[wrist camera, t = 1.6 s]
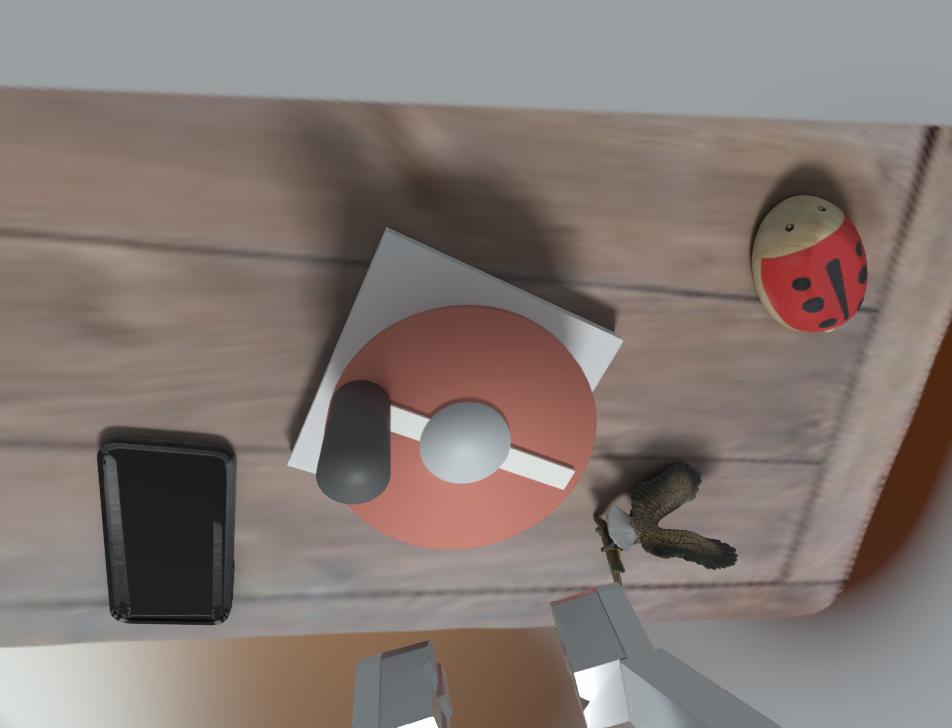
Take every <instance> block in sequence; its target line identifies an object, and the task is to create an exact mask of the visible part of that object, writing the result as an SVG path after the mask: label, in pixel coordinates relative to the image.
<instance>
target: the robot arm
mask: <svg viewBox="0 0 952 728" xmlns="http://www.w3.org/2000/svg"><path fill="white" fill-rule="evenodd" d="M550 607H551V611H552V615H553V618H554V621H555V624H556V627H557V628H556V630H557V635H558V638H559V642H560V645H561V649H562V652H563V656H564V659H565V662H566V665H567V668H568V671H569V674H570V677H571V678H572V679H573V683H574V687H575V691H576V695H577V698H578V701H579V704H580V707H581V710H582V713H583V716H584V718H585V722H586V725H587V728H606V727H609V726H613V725H616V724H620V723H624V722H627V721H631V723H632V724H633V725H634V726H635V727H636V728H781V727H780V726H779V725H778V724H776V723H775V722H773V721H772V720H770V719H769V718H767V717H766V716H764V715H763V714H761V713H760V712H758V711H757V710H755V709H753V708H752V707H750V706H749V705H747V704H746V703H744V702H743V701H741V700H740V699H738V698H737V697H735V696H734V695H732V694H731V693H729V692H728V691H726V690H725V689H723V688H722V687H720V686H719V685H717V684H716V683H714V682H712V681H711V680H710V679H708V678H706V677H705V676H703V675H702V674H700V673H699V672H697V671H696V670H694V669H693V668H691V667H690V666H688V665H687V664H685V663H684V662H682V661H680V660H679V659H678V658H676V657H675V656H673V655H671V654H670V653H668V652H667V651H665V650H664V649H662V648H659V649H656V650H654V648H653V646H652V644H651V642H650V640H649V638H648V637H647V634H646V633H645V631H644V629H643V627H642V625H641V623H640V621H639V619H638V617H637V615H636V613H635V611H634V609H633V607H632V605H631V604H630V602H629V600H628V598H627V596H626V594H625V592H624V590H623V588H622V586H621V585H620V584H619V583H618V582H614V583H611V584H608V585H605V586H601V587H598V588H595V590H594V589H590V590H587V591H584V592H580V593H577V594H574V595H571V596H568V597H565V598H562V599H559V600H556V601H552V602H550ZM451 715H452V708H451V700H450V695H449V689H448V684H447V680H446V677H445V674H444V671H443V668H442V666H441V664H439V663H437V662H436V653H435V649H434V646H433V644H432V642H431V640H428V641H425V642H421V643H417V644H414V645H410V646H406V647H403V648H399V649H396V650H392V651H388V652H384V653H381V654H378V655H374V656H371V657H367V658H364V659H360V660H359V661H358V664H357V667H356V673H355V689H354V705H353V718H352V728H451V727H450V725H449V719H450V717H451Z"/></svg>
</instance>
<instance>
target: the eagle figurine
mask: <svg viewBox="0 0 952 728" xmlns="http://www.w3.org/2000/svg"><path fill="white" fill-rule="evenodd" d="M700 478H701V475H700V474H698V473H697V469H690V465H686V464H685V463H678V464H674V465H673V466H669V467H668V469H667V470H665V471H664V472H661V474H660V476H656V477H655V478H653V479H652V480H651V481H650V482H649V481H646V482H642V483H641V484H640V485H639V486H638V487H637V489H636V490H634V491H633V495H632V496H631V498H632V500H633V502H632V504H631V505H632V507H633V508H632V509H631V510H630V515H628V514H626V513H625V512H624V511H622V510H621V509H620V508H619V507H618V506H616V505H615V504H614V505H612V507H611V508H610V511H609V513H608V514H607V523H606V521H605V520H603V519H602V518H601V517H596V516H594V521H595V522H596V524H597V525H598V527H599V528H598V527H597V528H596V529H595V531H596V532H598V533H599V535H600V536H601V537H602V542H603V545H604V547H602V548H601V551H602V552H605V551H606V555H607V559H608V563H609V567H610V570H611V573H612V576H613V579H614V582H618V583H619V584H620V585H621V586H622V581H621V577H620V572H622V573H624V572H625V569H624V567H623V564H622V562H621V560H620V558H619V557H620V552H621V551H623V550H629V549H630V547H631V545H634V544H636V543H641V544H642V548H643V549H645V551H646V552H647V553H651V554H652V555H655V556H657V557H661V558H664V559H668V558H670V557H678V558H683V559H685V560H686V561H691V562H696V563H697V564H698V565H703V566H704V567H705V568H707V569H713V570H716V569H717V568H718V569H721V568H726V567H730V566H733V565H735V563H734V562H736V561H737V559H736V558H737V557H738V555H737V554H735V552H736V549H735V548H733V547H730V545H729V544H727V543H721V541H720V540H715V539H710V538H706V537H703V536H701V535H699V534H697V533H694V532H691V531H687V530H674V529H662V528H660V527H658V522H659V521H660V520H661V519H662V518H663V517H665V516H666V515H667V514H669V513H671V512H672V511H674V510H675V509H677V508H679V507H680V506H681V505H683V504H685V503H686V502H689V501H692V500H694V499H695V497H696V495H695V494H696V493H697V492H698V491H699V488H698V486H699V485H700V484H701V483H702V481H701V480H700ZM614 542H615V543H616V544H615V543H614Z"/></svg>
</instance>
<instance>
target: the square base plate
mask: <svg viewBox="0 0 952 728" xmlns="http://www.w3.org/2000/svg"><path fill="white" fill-rule="evenodd" d="M452 305H480V306H490V307H495V308H500V309H504V310H508V311H511V312H514V313H516V314H519V315H522V316H524V317H526V318H528V319H530V320H532V321H534V322H536V323H538V324H539V325H541V326H542V327H543V328H545V329H546V330H548V331H549V332H550V333H552V334H553V335H554V336H555V337H556V338H557V339H558V340H559V341H560V342H561V343H562V344H563V345H564V346H565V347H566V348H567V350H568V351H569V352H570V353H571V354H572V356H573V357H574V358H575V360H576V361H577V362H578V364H579V365H580V366H581V368H582V370H583V372H584V374H585V376H586V378H587V379H588V382H589V384H590V387H591V390H592V392H593V390H594V389H595V387H596V385H597V384H598V382H599V380H600V379H601V377H602V376H603V374H604V372H605V371H606V369H607V367H608V366H609V364H610V362H611V361H612V359H613V358H614V356H615V354H616V353H617V351H618V349H619V348H620V346H621V344H622V343H623V341H624V340H623V339H622V338H621V337H619V336H618V335H617V334H616V333H615V332H613V331H611V330H609V329H606V328H604V327H602V326H600V325H598V324H596V323H593V322H591V321H589V320H587V319H585V318H583V317H580V316H578V315H576V314H574V313H572V312H570V311H567V310H565V309H563V308H561V307H559V306H557V305H555V304H552V303H550V302H548V301H546V300H544V299H542V298H539V297H537V296H535V295H533V294H531V293H529V292H526V291H524V290H522V289H520V288H518V287H516V286H513V285H511V284H509V283H507V282H505V281H503V280H500V279H498V278H496V277H494V276H492V275H490V274H487V273H485V272H483V271H481V270H479V269H477V268H475V267H472V266H470V265H468V264H466V263H464V262H462V261H459V260H457V259H455V258H453V257H451V256H449V255H446V254H444V253H442V252H440V251H438V250H436V249H433V248H431V247H429V246H427V245H425V244H423V243H420V242H418V241H416V240H414V239H412V238H410V237H407V236H405V235H403V234H401V233H399V232H397V231H395V230H392V229H390V228H388V227H386V229H385V231H384V233H383V236H382V238H381V240H380V243H379V245H378V248H377V250H376V252H375V255H374V257H373V259H372V262H371V264H370V267H369V269H368V271H367V274H366V276H365V278H364V281H363V283H362V286H361V288H360V290H359V293H358V295H357V297H356V300H355V302H354V305H353V307H352V309H351V312H350V314H349V316H348V319H347V321H346V324H345V326H344V328H343V331H342V333H341V335H340V338H339V340H338V343H337V345H336V347H335V350H334V352H333V354H332V357H331V359H330V362H329V364H328V366H327V369H326V371H325V373H324V376H323V378H322V381H321V383H320V385H319V388H318V390H317V392H316V395H315V397H314V400H313V402H312V404H311V407H310V409H309V411H308V414H307V416H306V419H305V421H304V423H303V426H302V428H301V430H300V433H299V435H298V438H297V440H296V442H295V445H294V447H293V449H292V452H291V455H290V458H289V461H288V464H287V465H288V466H291V467H295V468H298V469H301V470H305V471H308V472H311V473H315V474H316V470H317V465H318V460H319V456H320V451H321V447H322V442H323V438H324V429H325V423H326V418H327V412H328V408H329V404H330V400H331V397H332V394H333V392H334V389H335V386H336V384H337V382H338V380H339V378H340V376H341V374H342V373H343V371H344V369H345V368H346V367H347V365H348V364H349V362H350V361H351V360H352V358H353V357H354V356H355V355H356V354H357V353H358V352H359V350H360V349H361V348H362V347H363V346H364V345H365V344H366V343H367V342H369V341H370V340H371V339H372V338H374V337H375V336H376V335H377V334H379V333H380V332H381V331H383V330H385V329H386V328H388V327H390V326H391V325H393V324H394V323H396V322H398V321H400V320H403V319H405V318H407V317H409V316H412V315H414V314H417V313H420V312H423V311H427V310H430V309H434V308H440V307H446V306H452Z"/></svg>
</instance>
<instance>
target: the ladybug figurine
mask: <svg viewBox="0 0 952 728" xmlns="http://www.w3.org/2000/svg"><path fill="white" fill-rule="evenodd" d="M752 273H753V279H754V283H755V287H756V290H757V293H758V296H759V298H760V300H761V302H762V304H763V306H764V307H765V309H766V310H767V311H768V313H769V314H770V315H771V316H772V317H773V318H774V319H775V320H776V321H777V322H779V323H780V324H782V325H783V326H785V327H787V328H790V329H793V330H797V331H802V332H821V331H824V332H831V331H833V330H834V329H835V328H836V327H838V326H841V325H842V324H844V323H846V322H847V321H848V320H850V319H851V318H852V317H853V316H854V315H855V314H856V312H857V311H858V310H859V308H860V306H861V304H862V302H863V300H864V295H865V291H866V286H867V261H866V255H865V250H864V247H863V244H862V241H861V238H860V236H859V234H858V232H857V230H856V228H855V227H854V225H853V223H852V222H851V221H850V219H849V218H848V217H847V216H846V215H845V214H844V213H843V212H842V211H841V210H840V209H839V208H837V207H836V206H835V205H833V204H832V203H830V202H828V201H826V200H824V199H821V198H818V197H815V196H808V195H799V196H794V197H791V198H788V199H786V200H784V201H782V202H781V203H779V204H778V205H777V206H775V207H774V208H773V209H772V210H771V211H770V212H769V213H768V214H767V215H766V217H765V218H764V220H763V221H762V223H761V225H760V227H759V230H758V232H757V235H756V238H755V241H754V246H753V252H752Z"/></svg>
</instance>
